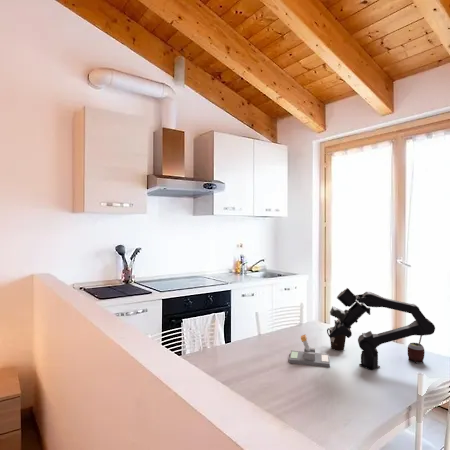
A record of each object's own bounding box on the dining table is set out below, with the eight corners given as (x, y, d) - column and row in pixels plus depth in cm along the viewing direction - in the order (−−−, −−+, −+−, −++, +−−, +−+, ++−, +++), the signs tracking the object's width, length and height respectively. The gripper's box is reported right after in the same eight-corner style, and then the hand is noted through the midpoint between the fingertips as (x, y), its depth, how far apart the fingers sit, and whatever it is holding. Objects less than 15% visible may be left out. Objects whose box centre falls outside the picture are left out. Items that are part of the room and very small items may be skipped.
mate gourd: (407, 362, 164) (407, 330, 164) (407, 356, 171) (408, 326, 171) (425, 365, 161) (426, 333, 160) (425, 359, 168) (425, 328, 167)
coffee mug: (348, 351, 177) (349, 332, 176) (331, 351, 177) (331, 331, 177) (341, 343, 188) (341, 325, 188) (325, 343, 188) (325, 325, 188)
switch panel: (328, 357, 169) (329, 348, 169) (329, 367, 157) (329, 357, 157) (291, 353, 174) (291, 344, 174) (289, 362, 162) (289, 353, 162)
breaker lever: (312, 353, 167) (305, 334, 168) (312, 356, 163) (305, 336, 164) (308, 354, 167) (301, 335, 168) (307, 357, 164) (300, 338, 165)
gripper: (338, 296, 170) (315, 318, 173) (342, 307, 152) (317, 332, 155) (355, 312, 169) (332, 333, 172) (362, 325, 151) (336, 350, 154)
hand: (329, 336), depth 164 cm, fingers closed
